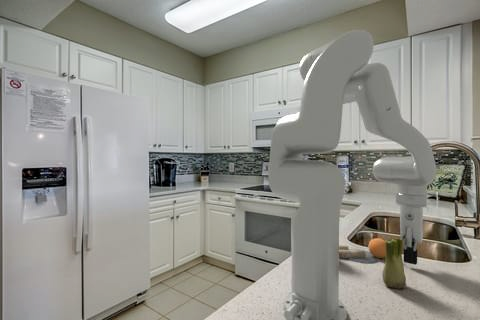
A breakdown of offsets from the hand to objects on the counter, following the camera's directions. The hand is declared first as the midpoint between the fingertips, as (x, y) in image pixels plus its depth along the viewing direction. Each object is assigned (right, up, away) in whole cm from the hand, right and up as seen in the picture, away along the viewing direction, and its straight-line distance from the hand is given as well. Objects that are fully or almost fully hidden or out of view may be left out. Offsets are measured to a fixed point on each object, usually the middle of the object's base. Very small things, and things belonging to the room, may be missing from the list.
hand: (410, 262), depth 73 cm
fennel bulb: (-11, -2, -10) cm, 15 cm away
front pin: (-10, 0, +7) cm, 12 cm away
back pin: (-14, 0, +10) cm, 17 cm away
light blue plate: (-10, -1, +8) cm, 14 cm away
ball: (-5, +2, +7) cm, 9 cm away
